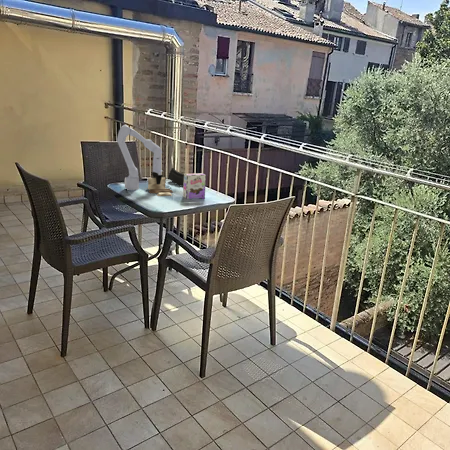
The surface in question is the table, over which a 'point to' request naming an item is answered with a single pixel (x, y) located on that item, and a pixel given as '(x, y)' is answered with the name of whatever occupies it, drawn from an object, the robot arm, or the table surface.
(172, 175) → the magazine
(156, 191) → the frame
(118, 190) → the table surface
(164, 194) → the offcut top
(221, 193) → the table surface
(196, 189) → the candy box
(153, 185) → the wooden block
